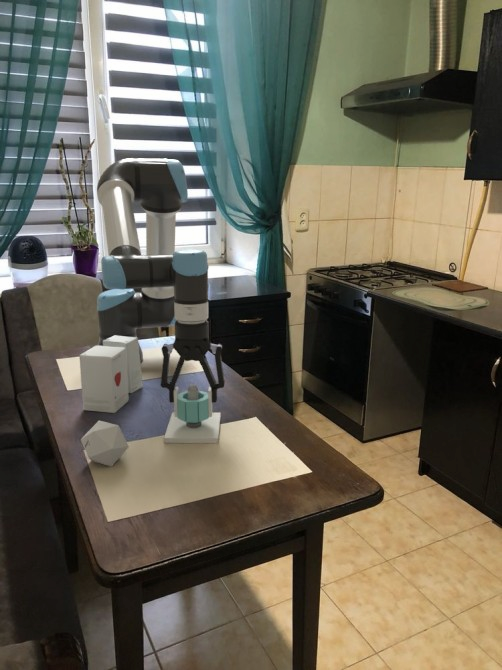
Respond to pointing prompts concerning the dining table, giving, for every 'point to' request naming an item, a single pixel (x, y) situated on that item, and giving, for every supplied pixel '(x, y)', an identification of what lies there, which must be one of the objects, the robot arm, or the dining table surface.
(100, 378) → the supplement box
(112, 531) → the dining table surface
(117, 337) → the skincare box
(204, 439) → the post stand
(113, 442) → the die
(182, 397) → the teal ring
